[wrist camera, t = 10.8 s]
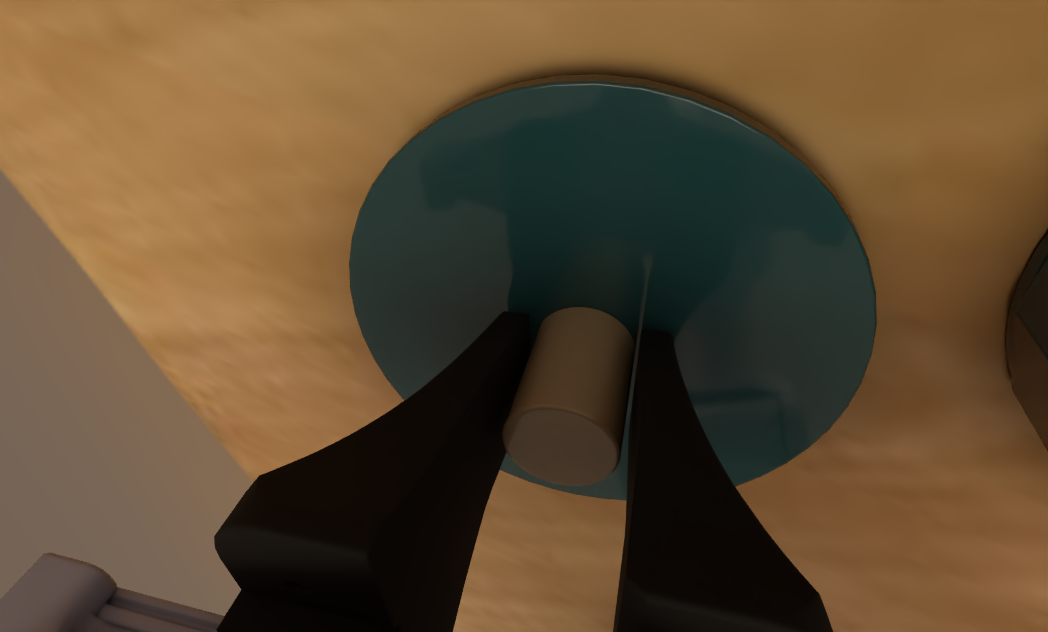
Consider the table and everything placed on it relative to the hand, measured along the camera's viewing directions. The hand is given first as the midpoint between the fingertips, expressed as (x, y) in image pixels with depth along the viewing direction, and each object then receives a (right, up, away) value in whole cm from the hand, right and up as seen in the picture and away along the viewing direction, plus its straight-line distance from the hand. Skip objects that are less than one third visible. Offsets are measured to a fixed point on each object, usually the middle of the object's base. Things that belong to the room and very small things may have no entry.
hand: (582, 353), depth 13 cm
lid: (0, +1, +1) cm, 1 cm away
